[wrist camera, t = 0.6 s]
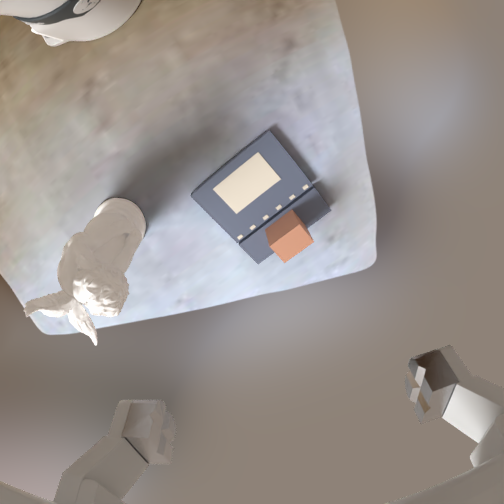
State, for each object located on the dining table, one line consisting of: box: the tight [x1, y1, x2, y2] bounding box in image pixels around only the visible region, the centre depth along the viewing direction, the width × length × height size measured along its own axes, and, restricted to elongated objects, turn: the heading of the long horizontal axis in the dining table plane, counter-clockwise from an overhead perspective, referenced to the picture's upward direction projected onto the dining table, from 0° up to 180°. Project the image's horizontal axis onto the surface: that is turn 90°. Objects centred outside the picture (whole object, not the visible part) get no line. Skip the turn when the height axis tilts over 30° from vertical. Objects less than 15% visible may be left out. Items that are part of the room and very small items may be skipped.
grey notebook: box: [191, 130, 313, 243], centre depth 44 cm, size 10×14×1 cm
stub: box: [239, 186, 331, 264], centre depth 45 cm, size 5×14×6 cm, turn 129°
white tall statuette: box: [24, 198, 146, 345], centre depth 37 cm, size 12×12×22 cm
